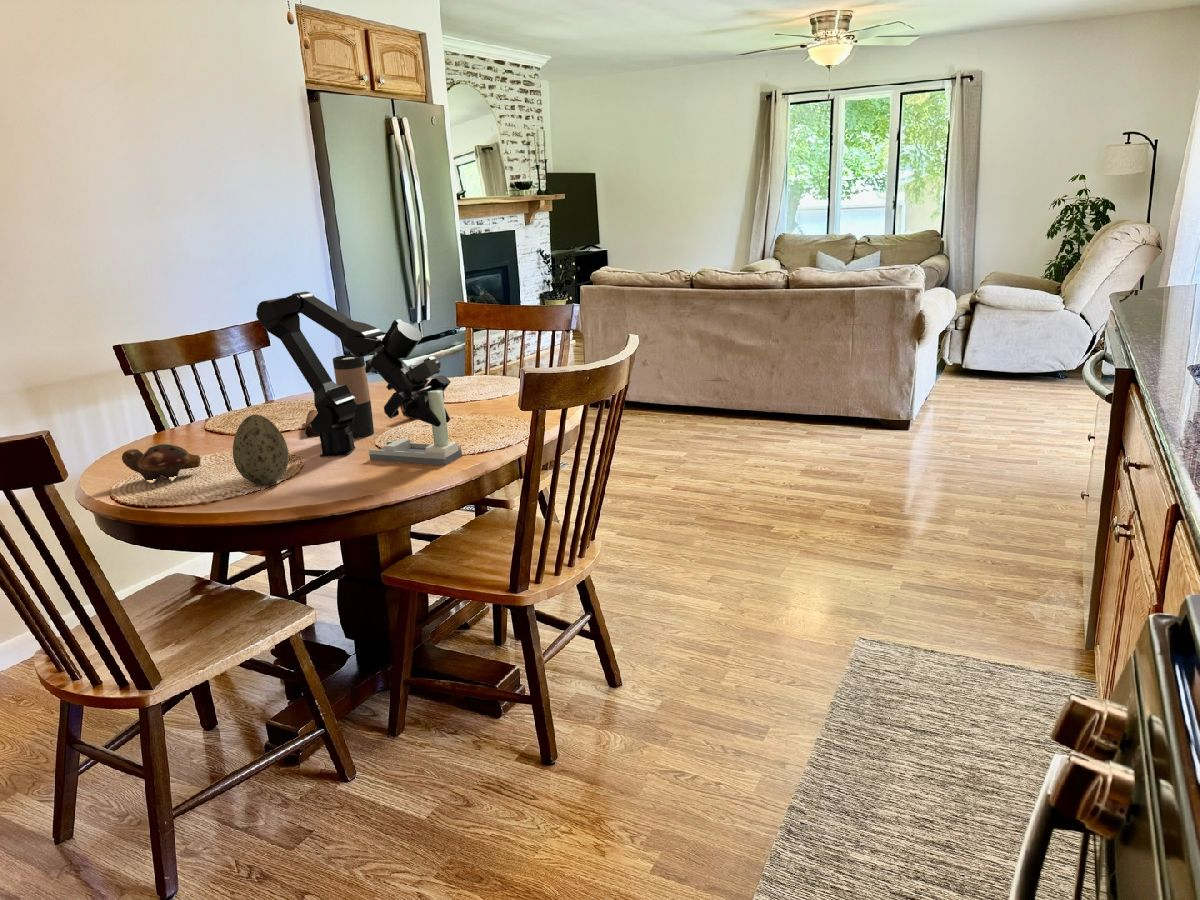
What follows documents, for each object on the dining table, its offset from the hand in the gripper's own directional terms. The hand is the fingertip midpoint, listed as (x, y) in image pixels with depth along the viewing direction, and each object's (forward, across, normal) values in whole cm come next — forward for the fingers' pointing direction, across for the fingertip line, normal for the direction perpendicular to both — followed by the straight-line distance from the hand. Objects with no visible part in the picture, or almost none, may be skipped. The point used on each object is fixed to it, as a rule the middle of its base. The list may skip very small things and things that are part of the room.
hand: (444, 423), depth 180 cm
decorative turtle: (-35, -25, +47) cm, 64 cm away
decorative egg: (-16, -22, +28) cm, 39 cm away
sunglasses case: (-30, +20, +43) cm, 56 cm away
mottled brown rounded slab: (-16, +36, +28) cm, 48 cm away
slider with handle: (+4, 0, +6) cm, 7 cm away
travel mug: (-19, +15, +32) cm, 40 cm away
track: (0, 0, +12) cm, 12 cm away
